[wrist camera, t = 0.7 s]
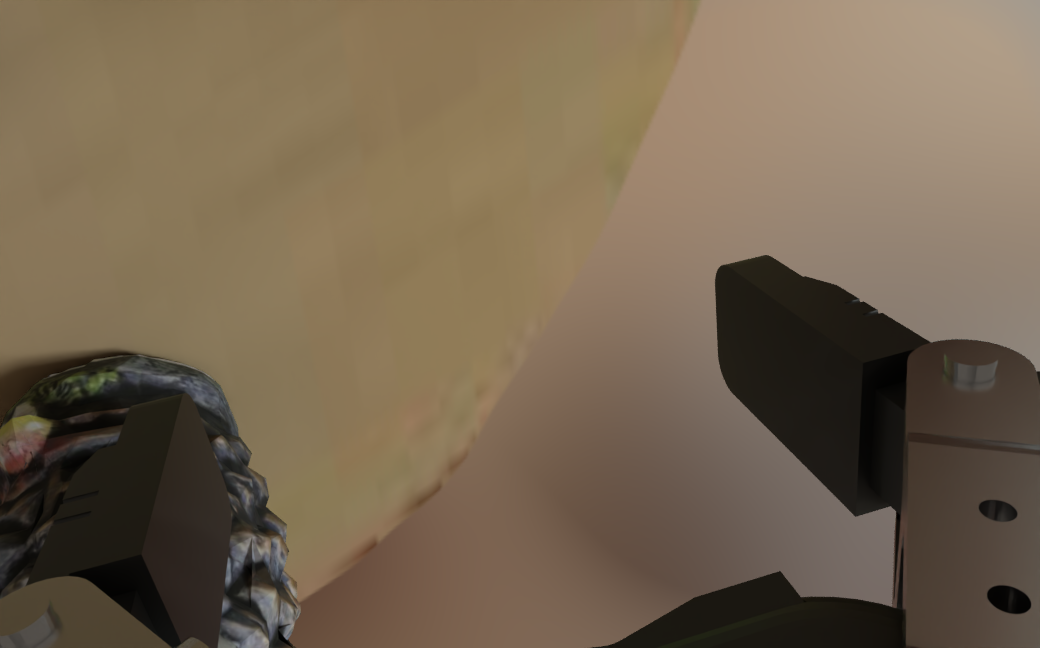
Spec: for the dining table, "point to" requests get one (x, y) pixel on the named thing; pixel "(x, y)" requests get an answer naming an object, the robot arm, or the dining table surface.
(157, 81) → the dining table surface
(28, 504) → the decorative house
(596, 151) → the dining table surface
